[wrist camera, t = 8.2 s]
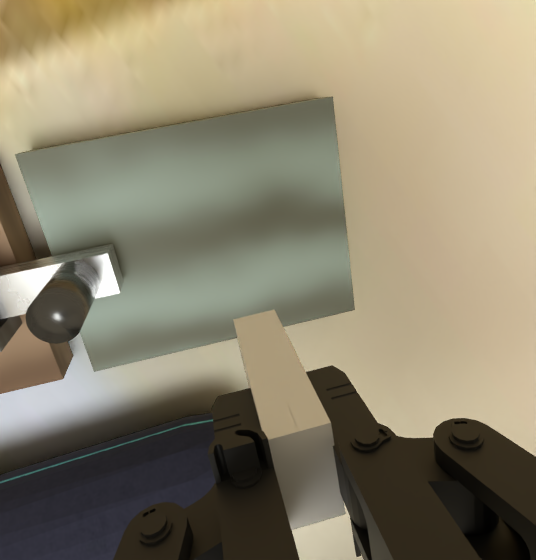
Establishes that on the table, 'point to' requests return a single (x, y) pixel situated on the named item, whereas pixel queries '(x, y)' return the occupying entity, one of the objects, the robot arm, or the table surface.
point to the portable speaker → (102, 491)
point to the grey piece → (59, 290)
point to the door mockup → (186, 233)
